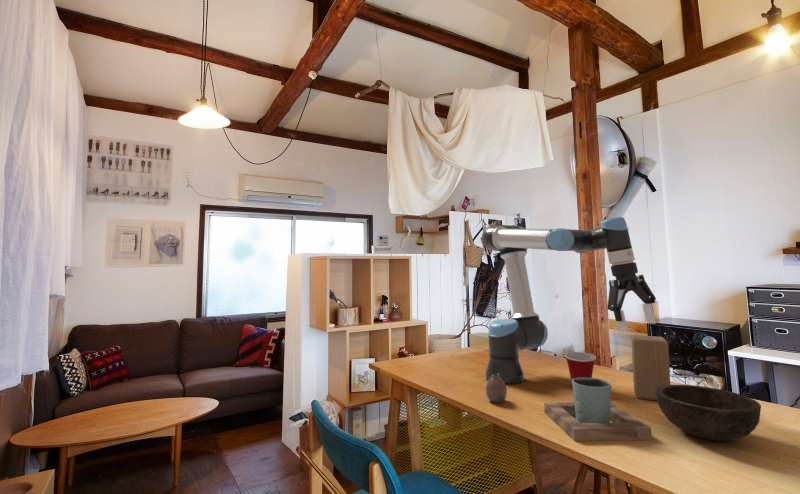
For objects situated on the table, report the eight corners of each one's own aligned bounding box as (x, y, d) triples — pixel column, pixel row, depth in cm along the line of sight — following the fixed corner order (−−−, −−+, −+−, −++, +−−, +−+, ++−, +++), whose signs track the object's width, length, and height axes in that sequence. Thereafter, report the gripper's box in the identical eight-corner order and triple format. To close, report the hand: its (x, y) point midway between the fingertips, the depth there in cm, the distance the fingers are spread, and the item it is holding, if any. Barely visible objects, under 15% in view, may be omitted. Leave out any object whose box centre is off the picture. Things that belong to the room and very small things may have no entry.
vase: (493, 396, 135) (492, 370, 135) (510, 400, 130) (510, 374, 130) (481, 401, 130) (481, 374, 130) (500, 406, 125) (499, 378, 125)
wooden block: (635, 399, 130) (632, 339, 131) (633, 390, 139) (631, 334, 140) (671, 403, 125) (668, 341, 127) (667, 394, 134) (664, 336, 135)
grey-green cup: (570, 427, 108) (568, 383, 108) (577, 415, 116) (575, 375, 117) (611, 435, 102) (609, 389, 103) (615, 422, 110) (613, 380, 111)
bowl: (786, 447, 94) (783, 405, 94) (722, 461, 88) (719, 416, 88) (695, 415, 115) (693, 381, 115) (638, 425, 108) (636, 388, 109)
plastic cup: (565, 390, 140) (564, 357, 141) (565, 382, 150) (564, 351, 151) (599, 393, 136) (597, 359, 137) (596, 385, 146) (594, 353, 147)
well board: (544, 412, 119) (544, 402, 119) (608, 411, 119) (608, 401, 119) (574, 440, 99) (573, 428, 99) (651, 439, 99) (650, 427, 99)
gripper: (605, 266, 120) (621, 334, 118) (658, 257, 130) (673, 320, 127) (586, 269, 127) (601, 333, 125) (637, 260, 137) (651, 320, 134)
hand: (637, 327), depth 126 cm, fingers open, 13 cm apart
